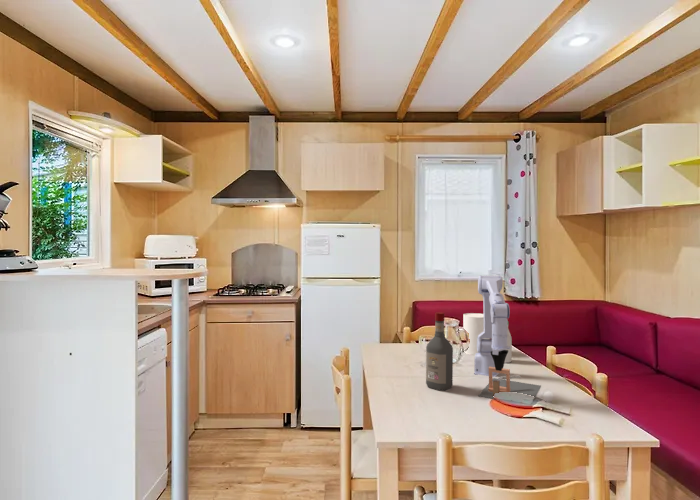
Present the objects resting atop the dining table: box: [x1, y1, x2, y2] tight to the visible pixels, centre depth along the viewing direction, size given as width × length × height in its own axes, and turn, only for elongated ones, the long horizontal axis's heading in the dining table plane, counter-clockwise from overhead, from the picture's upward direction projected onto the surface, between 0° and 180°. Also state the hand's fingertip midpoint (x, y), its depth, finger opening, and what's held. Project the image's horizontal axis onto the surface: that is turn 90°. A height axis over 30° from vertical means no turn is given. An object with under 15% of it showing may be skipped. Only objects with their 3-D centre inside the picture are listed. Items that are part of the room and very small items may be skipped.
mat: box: [477, 377, 542, 400], centre depth 172 cm, size 19×25×1 cm
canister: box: [462, 312, 489, 357], centre depth 233 cm, size 14×14×20 cm
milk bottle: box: [504, 321, 513, 364], centre depth 216 cm, size 8×8×20 cm
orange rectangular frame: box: [488, 367, 511, 392], centre depth 170 cm, size 4×8×9 cm, turn 59°
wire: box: [493, 374, 521, 396], centre depth 170 cm, size 7×16×6 cm, turn 149°
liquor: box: [425, 311, 454, 392], centre depth 177 cm, size 9×9×30 cm
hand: (499, 369), depth 170 cm, fingers closed on orange rectangular frame, 2 cm apart
